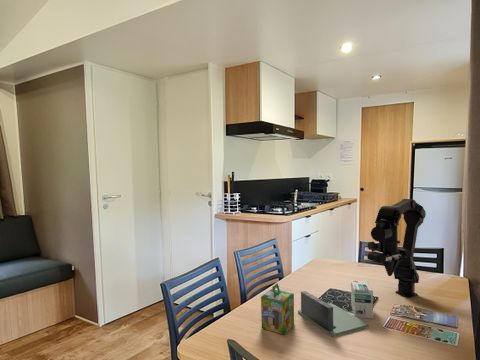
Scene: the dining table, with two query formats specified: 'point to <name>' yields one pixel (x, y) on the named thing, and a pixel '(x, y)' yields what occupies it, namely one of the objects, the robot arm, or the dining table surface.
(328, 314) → the bookend
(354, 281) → the light bulb box
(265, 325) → the chalk box
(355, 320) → the shelf board
